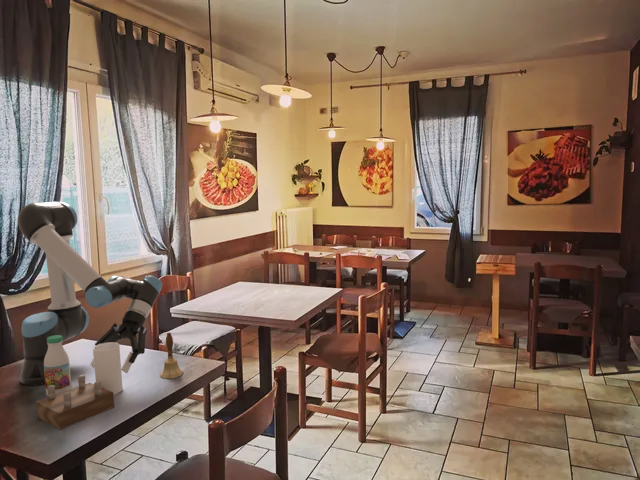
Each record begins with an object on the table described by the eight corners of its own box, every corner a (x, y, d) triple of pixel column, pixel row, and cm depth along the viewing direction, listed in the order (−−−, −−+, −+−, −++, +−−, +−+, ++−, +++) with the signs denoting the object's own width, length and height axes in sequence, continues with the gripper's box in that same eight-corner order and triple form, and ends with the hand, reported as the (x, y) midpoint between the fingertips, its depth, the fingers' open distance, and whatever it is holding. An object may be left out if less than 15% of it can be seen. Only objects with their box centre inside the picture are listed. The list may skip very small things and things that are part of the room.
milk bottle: (48, 390, 168) (43, 334, 166) (73, 387, 171) (68, 332, 168) (44, 399, 161) (39, 341, 158) (70, 395, 163) (65, 338, 161)
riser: (37, 416, 149) (34, 388, 148) (90, 396, 162) (88, 371, 161) (60, 429, 141) (57, 400, 140) (114, 407, 154) (112, 380, 153)
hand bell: (155, 378, 178) (153, 335, 176) (167, 369, 186) (165, 329, 184) (175, 379, 176) (173, 337, 174) (187, 371, 184) (185, 330, 182)
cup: (114, 396, 162) (111, 350, 160) (91, 395, 163) (87, 350, 161) (127, 386, 170) (123, 342, 168) (105, 385, 171) (101, 342, 169)
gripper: (169, 322, 176) (143, 377, 164) (116, 317, 185) (87, 369, 172) (159, 312, 170) (131, 368, 158) (104, 307, 179) (74, 360, 167)
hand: (108, 369), depth 165 cm, fingers open, 13 cm apart
